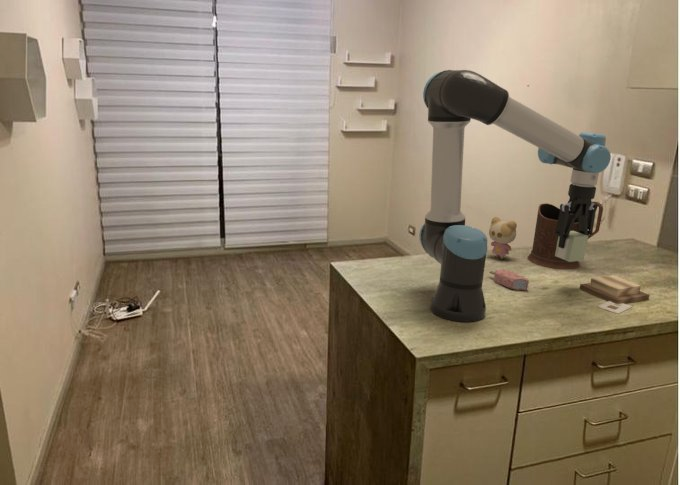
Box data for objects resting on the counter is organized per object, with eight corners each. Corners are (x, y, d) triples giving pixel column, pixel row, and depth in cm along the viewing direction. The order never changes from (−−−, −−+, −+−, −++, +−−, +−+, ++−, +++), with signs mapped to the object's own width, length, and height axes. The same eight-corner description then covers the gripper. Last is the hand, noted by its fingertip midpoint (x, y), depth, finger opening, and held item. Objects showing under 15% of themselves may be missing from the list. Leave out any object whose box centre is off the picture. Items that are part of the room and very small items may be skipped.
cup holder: (547, 251, 213) (557, 188, 206) (604, 269, 194) (617, 201, 187) (516, 257, 203) (525, 192, 196) (574, 277, 184) (587, 206, 177)
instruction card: (618, 314, 155) (618, 312, 155) (597, 307, 159) (597, 305, 159) (631, 307, 160) (632, 305, 160) (611, 300, 165) (611, 299, 165)
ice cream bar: (497, 265, 181) (533, 278, 169) (496, 277, 182) (531, 291, 170) (484, 267, 178) (520, 280, 166) (483, 279, 179) (518, 293, 167)
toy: (481, 256, 202) (486, 217, 198) (494, 252, 208) (499, 214, 204) (504, 263, 195) (509, 223, 191) (517, 259, 201) (522, 220, 196)
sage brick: (569, 261, 167) (574, 236, 165) (554, 255, 172) (559, 231, 170) (583, 260, 169) (588, 235, 167) (568, 254, 175) (573, 230, 172)
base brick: (616, 305, 161) (619, 292, 160) (579, 288, 174) (581, 276, 172) (648, 299, 167) (651, 287, 166) (610, 283, 179) (612, 272, 178)
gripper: (569, 187, 157) (555, 262, 163) (615, 186, 165) (600, 258, 171) (550, 182, 164) (537, 255, 170) (595, 182, 171) (581, 251, 178)
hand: (569, 256), depth 171 cm, fingers closed on sage brick, 6 cm apart
